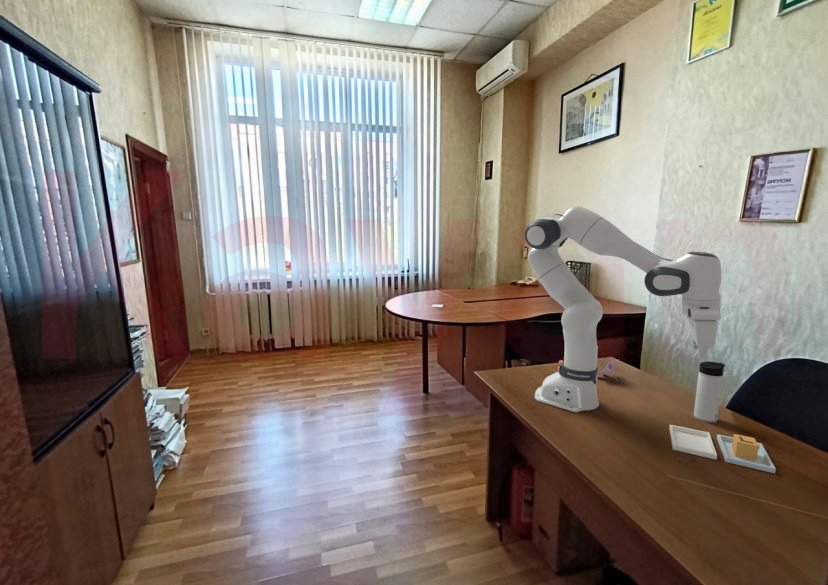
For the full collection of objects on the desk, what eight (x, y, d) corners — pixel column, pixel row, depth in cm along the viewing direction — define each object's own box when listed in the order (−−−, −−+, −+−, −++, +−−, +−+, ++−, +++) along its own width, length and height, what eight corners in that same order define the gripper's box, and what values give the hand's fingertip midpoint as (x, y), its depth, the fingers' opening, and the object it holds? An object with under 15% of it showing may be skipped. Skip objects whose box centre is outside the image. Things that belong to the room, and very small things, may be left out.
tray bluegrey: (725, 463, 101) (726, 457, 101) (716, 439, 112) (717, 434, 112) (774, 474, 96) (775, 468, 96) (760, 448, 107) (761, 443, 107)
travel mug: (722, 425, 120) (730, 367, 116) (699, 423, 121) (706, 366, 118) (711, 415, 126) (718, 360, 122) (689, 414, 127) (696, 359, 124)
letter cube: (735, 456, 103) (737, 441, 102) (731, 448, 107) (733, 433, 106) (756, 461, 101) (758, 445, 100) (752, 452, 105) (754, 437, 104)
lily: (618, 376, 163) (607, 356, 164) (635, 376, 151) (624, 354, 153) (595, 387, 161) (584, 366, 163) (611, 387, 149) (599, 365, 151)
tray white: (672, 450, 107) (673, 445, 107) (669, 429, 118) (669, 424, 118) (716, 461, 102) (717, 455, 102) (708, 437, 113) (709, 432, 113)
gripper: (682, 300, 117) (681, 342, 119) (692, 315, 99) (691, 363, 101) (707, 301, 114) (706, 343, 116) (722, 315, 96) (720, 366, 98)
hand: (699, 353), depth 108 cm, fingers open, 8 cm apart
